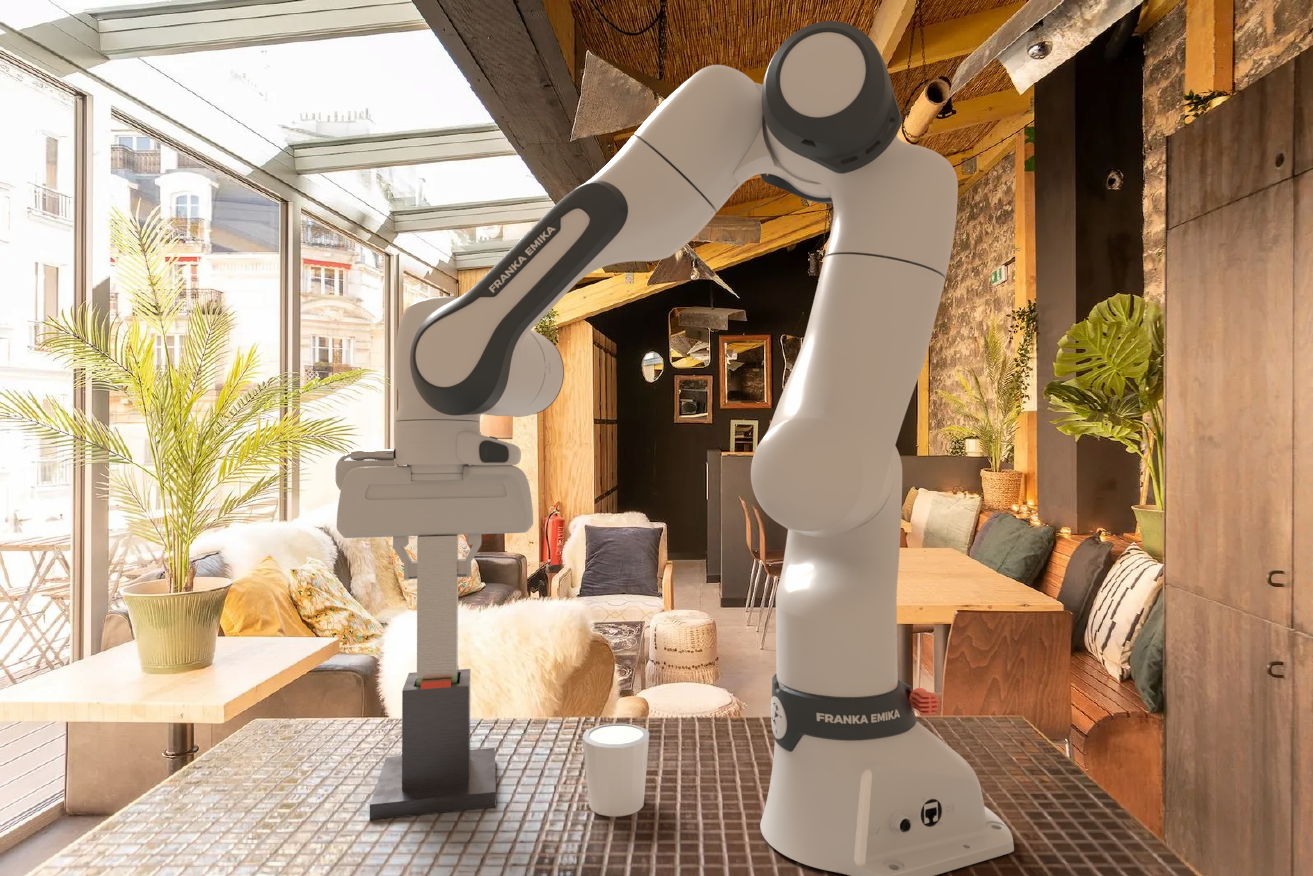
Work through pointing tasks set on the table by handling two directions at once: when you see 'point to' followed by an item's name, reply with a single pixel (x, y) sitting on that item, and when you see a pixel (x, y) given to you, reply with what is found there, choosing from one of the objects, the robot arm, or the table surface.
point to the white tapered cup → (616, 768)
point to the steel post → (437, 608)
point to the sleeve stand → (435, 755)
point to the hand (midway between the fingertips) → (438, 577)
